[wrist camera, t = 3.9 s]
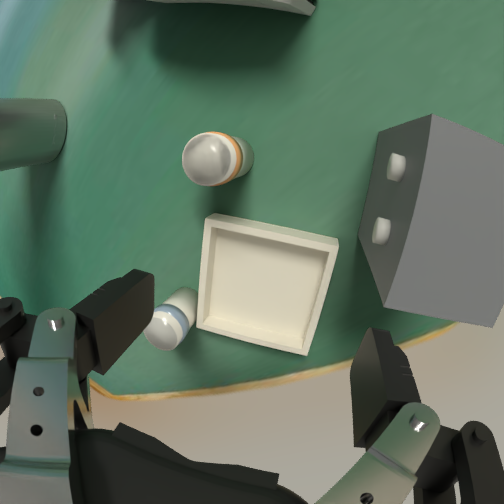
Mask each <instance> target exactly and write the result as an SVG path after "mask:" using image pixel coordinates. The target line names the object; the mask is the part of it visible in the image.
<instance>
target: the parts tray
mask: <svg viewBox="0 0 504 504" xmlns="http://www.w3.org/2000/svg"><path fill="white" fill-rule="evenodd" d="M338 248H339V244H338V239H337V238H333V237H328V236H324V235H319V234H315V233H310V232H306V231H301V230H297V229H292V228H287V227H282V226H278V225H273V224H268V223H263V222H258V221H254V220H249V219H244V218H239V217H234V216H229V215H224V214H218V213H213V214H211V215H210V216H208V217H206V218H205V225H204V235H203V246H202V257H201V268H200V281H199V294H198V308H197V324H196V327H197V328H200V329H204V330H207V331H210V332H214V333H217V334H221V335H225V336H228V337H232V338H235V339H239V340H243V341H247V342H251V343H254V344H258V345H262V346H266V347H271V348H275V349H279V350H283V351H287V352H292V353H296V354H301V355H306V356H307V354H308V351H309V348H310V345H311V342H312V339H313V336H314V333H315V330H316V326H317V323H318V320H319V317H320V313H321V310H322V307H323V303H324V300H325V296H326V293H327V289H328V286H329V282H330V279H331V275H332V271H333V268H334V264H335V260H336V256H337V252H338Z"/></svg>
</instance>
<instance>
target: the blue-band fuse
mask: <svg viewBox="0 0 504 504" xmlns="http://www.w3.org/2000/svg"><path fill="white" fill-rule="evenodd" d="M197 308H198V293H197V292H196V291H195V290H193V289H191V288H188V287H181V288H179V289H177V290H176V291H175V292H174V293H173V294H172V295H171V296H170V297H169V298H168V299H167V300H166V301H165V302H164V303H162V304H161V305H159V306H157V307H156V308H155V309H154V314H153V317H152V320H151V322H150V324H149V325H148V326H147V327H146V328H145V329H144V330H143V331H144V334H145V336H146V338H147V339H148V341H149V342H150V343H151V344H152V345H154V346H155V347H157V348H159V349H161V350H166V351H168V350H172V349H174V348H175V347H176V346H177V345H178V344H180V343H181V342H182V341H183V339H184V338H185V337H186V335H187V334H188V332H189V329H190V328H191V326H192V325H193V324H194V322H195V321H196V320H197Z"/></svg>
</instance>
